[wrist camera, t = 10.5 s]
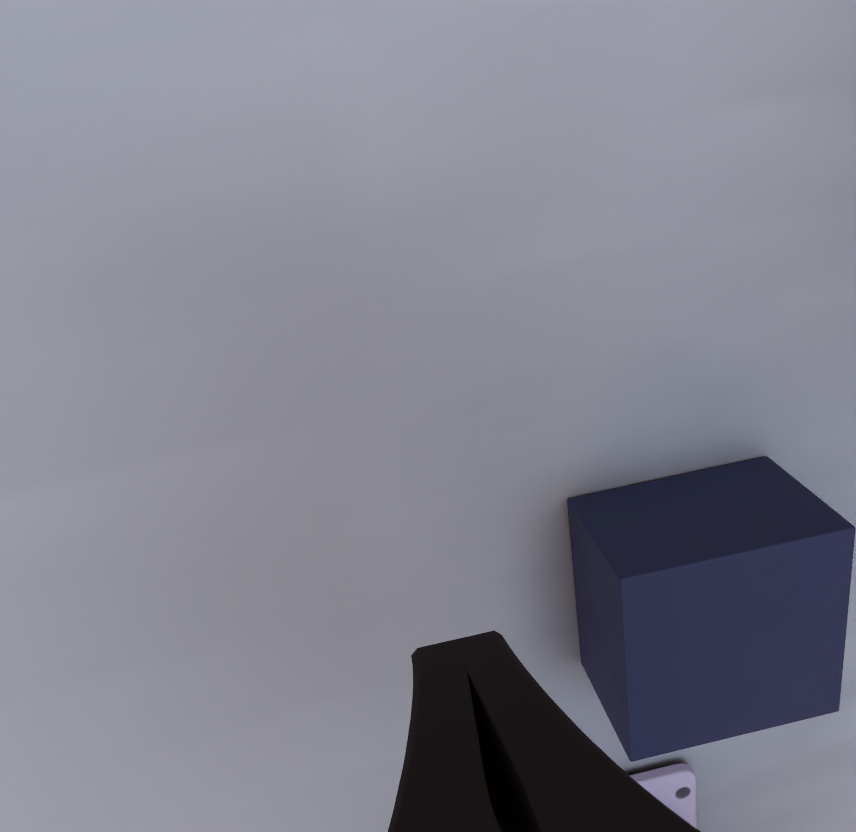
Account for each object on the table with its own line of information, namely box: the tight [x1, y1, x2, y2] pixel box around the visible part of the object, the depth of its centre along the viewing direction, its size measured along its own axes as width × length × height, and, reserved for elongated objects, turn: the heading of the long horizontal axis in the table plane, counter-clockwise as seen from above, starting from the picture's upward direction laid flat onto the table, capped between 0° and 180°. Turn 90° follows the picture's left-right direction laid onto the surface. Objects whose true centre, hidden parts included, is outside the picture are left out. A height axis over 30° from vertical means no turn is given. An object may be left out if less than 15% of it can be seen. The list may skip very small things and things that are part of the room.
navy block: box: [568, 456, 855, 761], centre depth 22 cm, size 6×6×4 cm
